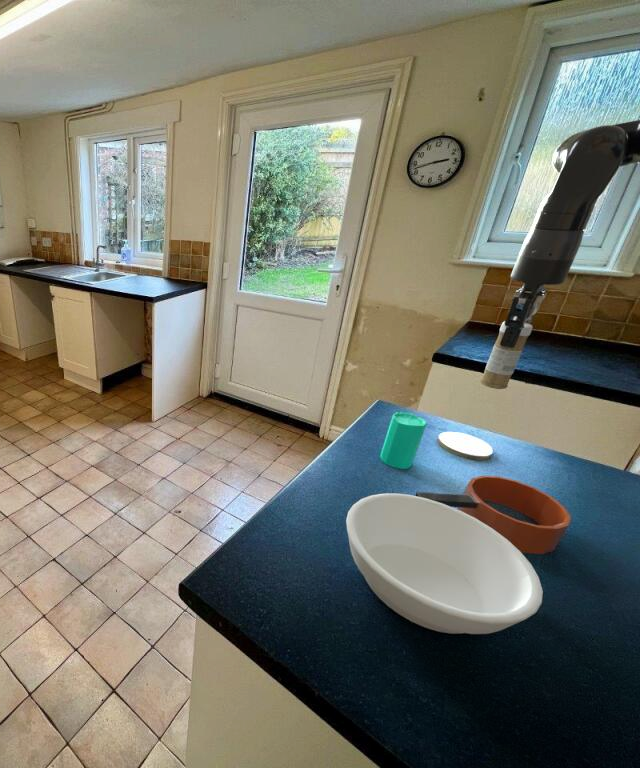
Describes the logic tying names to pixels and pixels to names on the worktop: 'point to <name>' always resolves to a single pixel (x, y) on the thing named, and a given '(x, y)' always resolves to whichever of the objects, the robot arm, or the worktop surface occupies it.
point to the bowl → (441, 565)
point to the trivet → (465, 445)
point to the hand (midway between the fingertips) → (510, 343)
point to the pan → (518, 498)
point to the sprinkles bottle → (504, 360)
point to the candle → (402, 440)
